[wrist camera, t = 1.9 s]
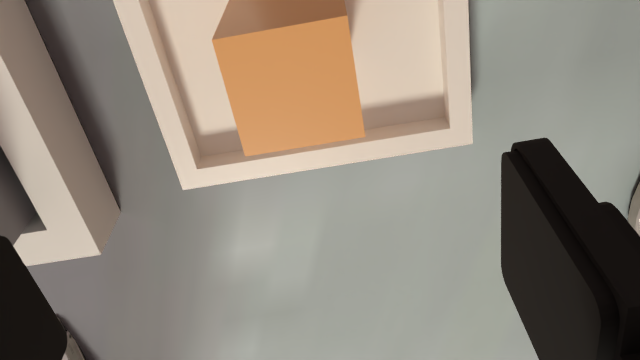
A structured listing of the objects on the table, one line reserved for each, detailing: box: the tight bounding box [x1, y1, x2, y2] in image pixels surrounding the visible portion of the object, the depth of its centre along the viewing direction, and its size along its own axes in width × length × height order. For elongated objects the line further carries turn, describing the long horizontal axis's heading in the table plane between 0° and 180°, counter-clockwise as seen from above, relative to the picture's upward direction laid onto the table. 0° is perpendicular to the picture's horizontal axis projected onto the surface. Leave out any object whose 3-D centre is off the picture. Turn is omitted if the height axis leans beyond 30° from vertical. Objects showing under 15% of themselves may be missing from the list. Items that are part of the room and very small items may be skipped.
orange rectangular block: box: [212, 0, 365, 157], centre depth 21 cm, size 4×4×8 cm
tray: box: [113, 0, 473, 190], centre depth 24 cm, size 14×14×2 cm
